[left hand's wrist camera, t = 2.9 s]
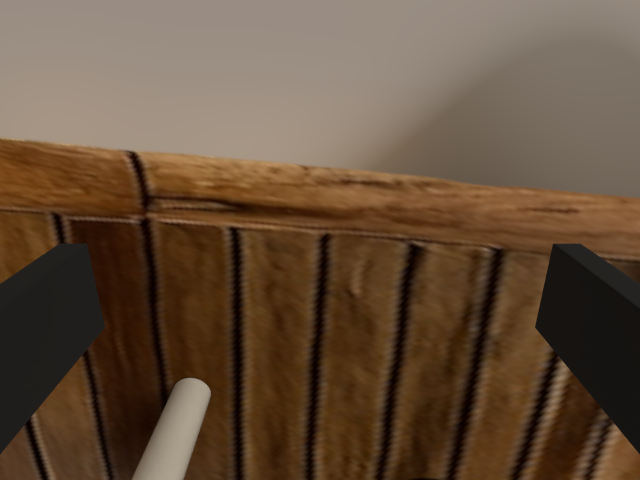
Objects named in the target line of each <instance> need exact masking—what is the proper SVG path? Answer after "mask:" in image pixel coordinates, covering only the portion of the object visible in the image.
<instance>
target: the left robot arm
mask: <svg viewBox="0 0 640 480" xmlns="http://www.w3.org/2000/svg"><path fill="white" fill-rule="evenodd" d="M104 328H105V326H104V321H103V317H102V312H101V307H100V303H99V298H98V293H97V289H96V284H95V279H94V275H93V270H92V266H91V261H90V256H89V252H88V247H87V244H58V245H57V246H56V247H54V248H53V249H51V250H50V251H48V252H47V253H45V254H44V255H42V256H41V257H39V258H38V259H36V260H35V261H33V262H32V263H31V264H29V265H28V266H26V267H25V268H23V269H22V270H20V271H19V272H17V273H16V274H14V275H13V276H11V277H10V278H8V279H7V280H6V281H4V282H3V283H1V284H0V454H1V453H2V451H3V450H4V449H5V448H6V447H7V445H8V444H9V443H10V442H11V440H12V439H13V438H14V437H15V436H16V434H17V433H18V432H19V431H20V430H21V428H22V427H23V426H24V425H25V424H26V422H27V421H28V420H29V419H30V417H31V416H32V415H33V414H34V413H35V411H36V410H37V409H38V408H39V407H40V405H41V404H42V403H43V402H44V401H45V399H46V398H47V397H48V396H49V394H50V393H51V392H52V391H53V390H54V388H55V387H56V386H57V385H58V384H59V382H60V381H61V380H62V379H63V377H64V376H65V375H66V374H67V373H68V371H69V370H70V369H71V368H72V367H73V365H74V364H75V363H76V362H77V361H78V359H79V358H80V357H81V356H82V354H83V353H84V352H85V351H86V350H87V348H88V347H89V346H90V345H91V344H92V342H93V341H94V340H95V339H96V338H97V336H98V335H99V334H100V333H101V331H102V330H103V329H104ZM535 328H536V329H537V330H538V331H539V333H540V334H541V335H542V336H543V338H544V339H545V340H546V341H547V342H548V344H549V345H550V346H551V347H552V348H553V350H554V351H555V352H556V353H557V354H558V356H559V357H560V358H561V359H562V361H563V362H564V363H565V364H566V365H567V367H568V368H569V369H570V370H571V371H572V373H573V374H574V375H575V376H576V377H577V379H578V380H579V381H580V382H581V384H582V385H583V386H584V387H585V388H586V390H587V391H588V392H589V393H590V394H591V396H592V397H593V398H594V399H595V401H596V402H597V403H598V404H599V405H600V407H601V408H602V409H603V410H604V411H605V413H606V414H607V415H608V416H609V417H610V419H611V420H612V421H613V422H614V424H615V425H616V426H617V427H618V428H619V430H620V431H621V432H622V433H623V434H624V436H625V437H626V438H627V439H628V440H629V442H630V443H631V444H632V445H633V447H634V448H635V449H636V450H637V451H638V453H639V454H640V284H639V283H637V282H636V281H634V280H633V279H632V278H630V277H629V276H627V275H626V274H624V273H623V272H621V271H620V270H618V269H617V268H615V267H614V266H612V265H611V264H609V263H608V262H607V261H605V260H604V259H602V258H601V257H599V256H598V255H596V254H595V253H593V252H592V251H590V250H589V249H587V248H586V247H584V246H583V245H582V244H553V247H552V252H551V256H550V261H549V266H548V270H547V275H546V279H545V284H544V289H543V293H542V298H541V303H540V307H539V312H538V317H537V321H536V326H535ZM420 480H435V479H420Z"/></svg>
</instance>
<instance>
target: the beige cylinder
mask: <svg viewBox="0 0 640 480" xmlns="http://www.w3.org/2000/svg"><path fill="white" fill-rule="evenodd" d="M210 398H211V392H210V389H209V387H208V386H207V385H206V384H205V383H204V382H203V381H201V380H199V379H195V378H185V379H182V380H180V381H178V382H177V383H176V384H175V386H174V388H173V390H172V392H171V394H170V396H169V398H168V401H167V403H166V405H165V407H164V409H163V412H162V414H161V416H160V418H159V420H158V423H157V425H156V427H155V429H154V431H153V434H152V436H151V438H150V440H149V442H148V444H147V447H146V449H145V451H144V453H143V455H142V458H141V460H140V462H139V464H138V466H137V469H136V471H135V473H134V475H133V477H132V480H184V477H185V474H186V471H187V468H188V465H189V462H190V459H191V455H192V452H193V449H194V446H195V443H196V440H197V437H198V434H199V431H200V428H201V425H202V422H203V419H204V416H205V413H206V410H207V407H208V404H209V401H210Z"/></svg>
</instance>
